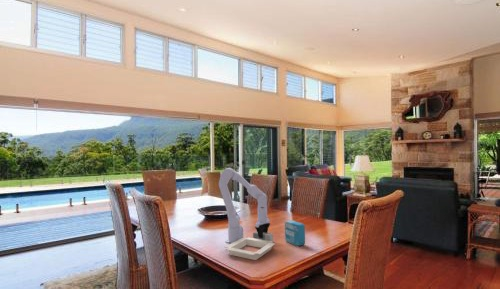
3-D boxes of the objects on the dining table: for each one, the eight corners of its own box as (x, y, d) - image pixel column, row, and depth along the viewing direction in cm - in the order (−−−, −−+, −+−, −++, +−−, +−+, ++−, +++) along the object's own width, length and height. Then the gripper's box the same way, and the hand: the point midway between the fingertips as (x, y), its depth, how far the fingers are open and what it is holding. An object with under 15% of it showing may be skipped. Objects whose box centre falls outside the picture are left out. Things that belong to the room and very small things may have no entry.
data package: (285, 241, 170) (284, 221, 171) (290, 239, 173) (290, 219, 173) (299, 246, 161) (299, 225, 161) (305, 245, 163) (305, 224, 164)
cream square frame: (244, 242, 169) (244, 236, 169) (277, 248, 159) (277, 242, 159) (222, 255, 150) (221, 248, 150) (257, 262, 139) (257, 255, 139)
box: (256, 239, 176) (256, 230, 176) (273, 241, 170) (272, 233, 170) (253, 241, 172) (253, 232, 172) (269, 244, 166) (269, 235, 166)
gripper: (262, 217, 163) (263, 241, 163) (273, 211, 175) (274, 234, 175) (251, 215, 166) (252, 239, 166) (263, 210, 179) (263, 232, 179)
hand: (262, 236), depth 171 cm, fingers open, 5 cm apart
